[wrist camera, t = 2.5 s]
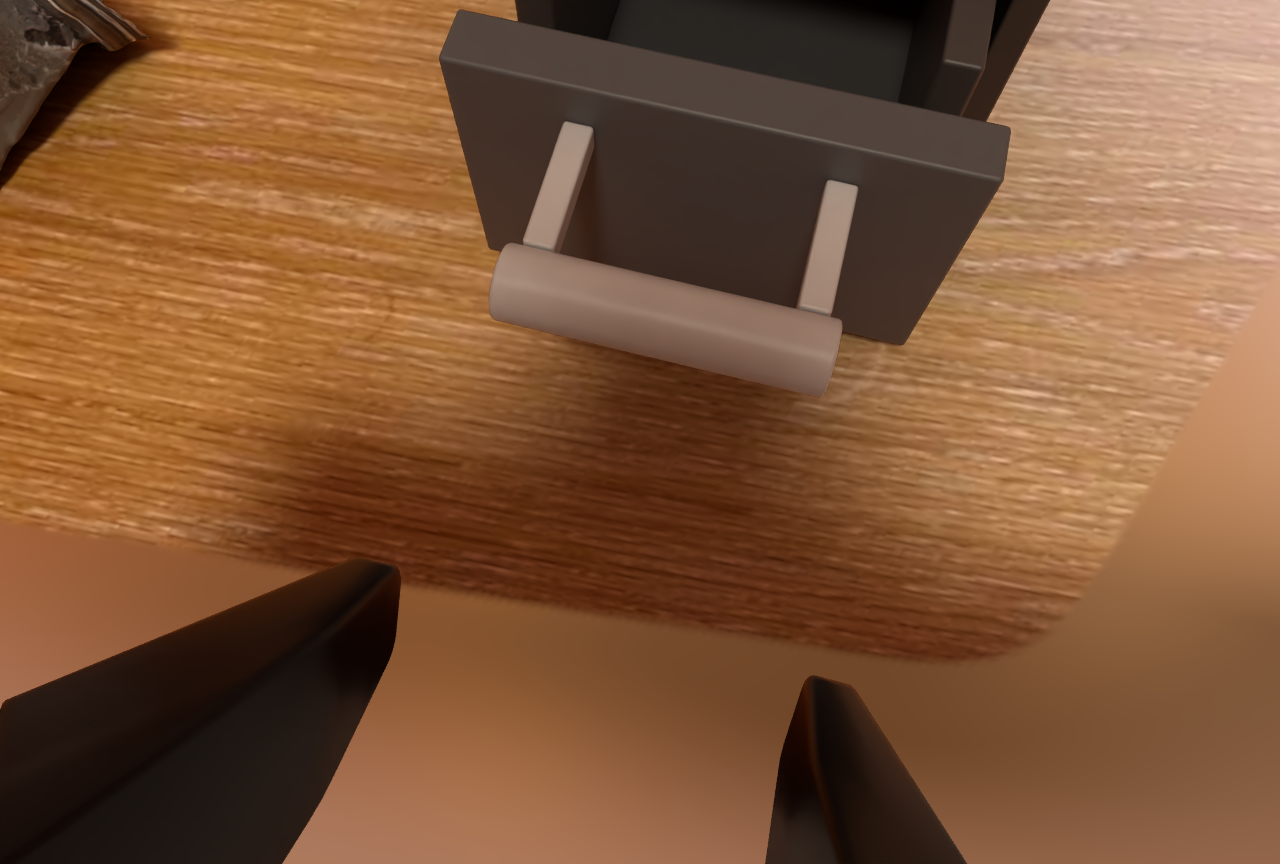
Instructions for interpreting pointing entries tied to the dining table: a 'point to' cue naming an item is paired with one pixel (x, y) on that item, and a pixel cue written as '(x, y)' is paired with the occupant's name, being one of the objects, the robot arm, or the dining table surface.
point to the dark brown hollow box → (1004, 51)
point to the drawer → (725, 171)
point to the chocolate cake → (47, 52)
